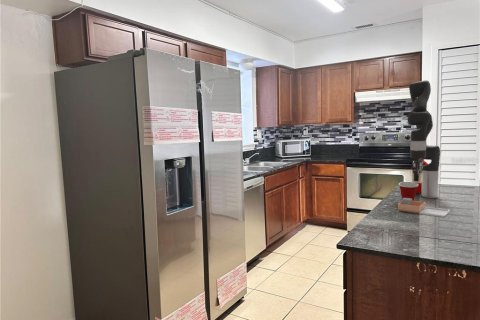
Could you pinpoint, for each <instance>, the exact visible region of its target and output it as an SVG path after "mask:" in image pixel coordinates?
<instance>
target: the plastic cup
mask: <svg viewBox="0 0 480 320" xmlns="http://www.w3.org/2000/svg"><path fill="white" fill-rule="evenodd" d="M398 186H399V191H400V195H401V200H402V199H403V198H411V199H412V201H415V197H416V194H417V193H416V190H417V187H418V184H417V183H413V182H412V181H402V182H399V183H398Z"/></svg>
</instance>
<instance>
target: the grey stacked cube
mask: <svg viewBox="0 0 480 320" xmlns="http://www.w3.org/2000/svg"><path fill="white" fill-rule="evenodd" d="M401 201H402V204H405V205H412V199H411V198H403V199H402V198H401Z"/></svg>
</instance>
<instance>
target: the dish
mask: <svg viewBox="0 0 480 320" xmlns="http://www.w3.org/2000/svg"><path fill="white" fill-rule="evenodd" d="M425 207H426V201H419V200H414V201H412V205H405V204H402V200H401V201H400V202H398V203H397V211H400V212H401V211H402V212H408V213H415V214H420V211H422V210H423V209H424V208H425Z"/></svg>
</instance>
